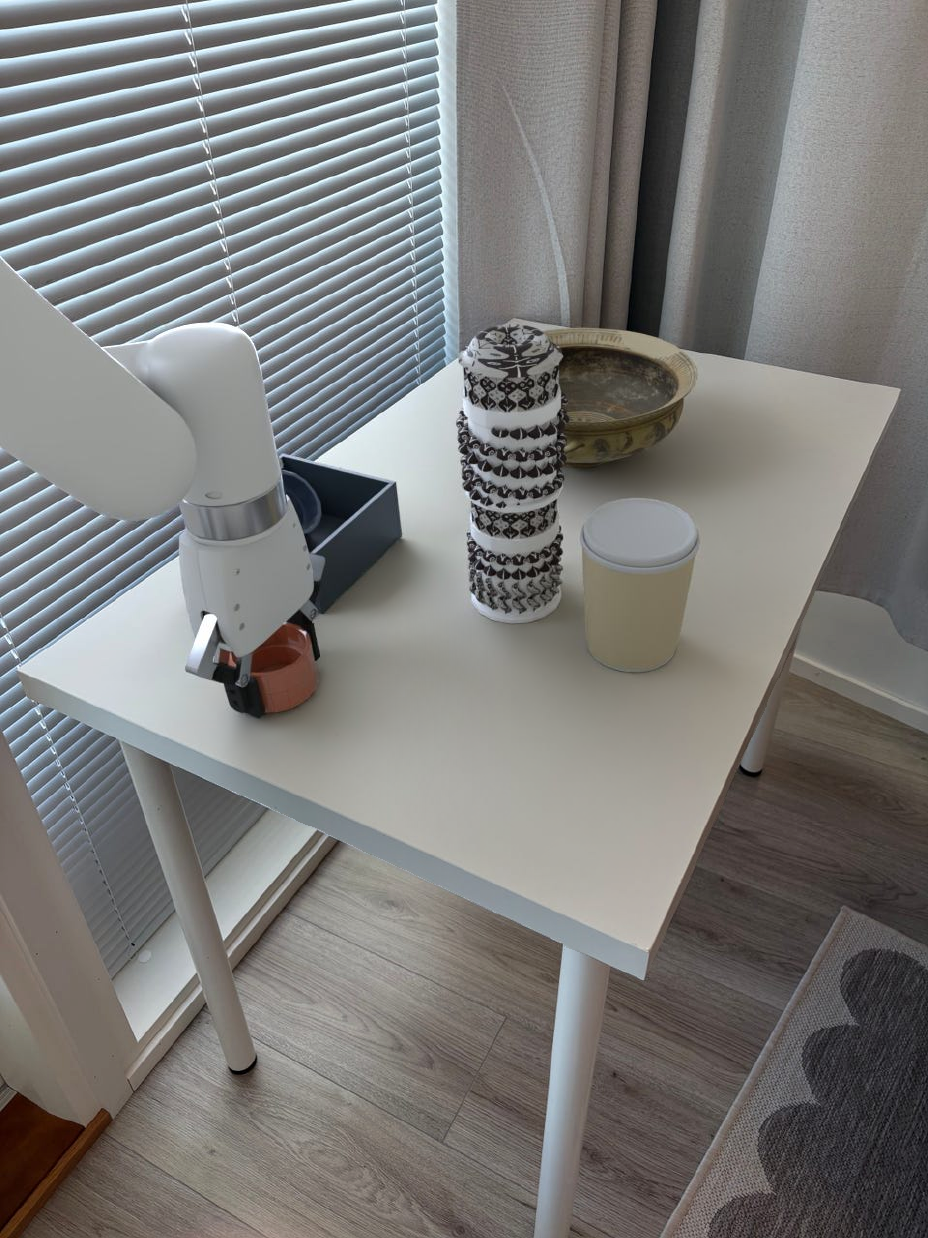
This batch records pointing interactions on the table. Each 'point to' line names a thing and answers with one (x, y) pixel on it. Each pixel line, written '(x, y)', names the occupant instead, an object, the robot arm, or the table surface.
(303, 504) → the faceted blue pot
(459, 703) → the table surface
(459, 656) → the table surface
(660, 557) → the coffee cup
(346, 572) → the tub
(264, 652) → the terracotta flower pot
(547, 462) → the decorative candle
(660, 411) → the ceramic bowl
